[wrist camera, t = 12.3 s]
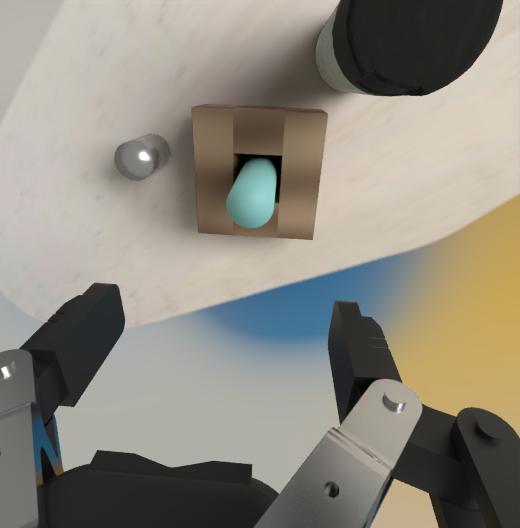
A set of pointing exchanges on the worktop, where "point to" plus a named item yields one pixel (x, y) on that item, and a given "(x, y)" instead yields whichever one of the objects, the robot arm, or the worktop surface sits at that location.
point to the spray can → (403, 44)
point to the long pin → (254, 192)
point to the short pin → (142, 156)
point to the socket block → (265, 143)
